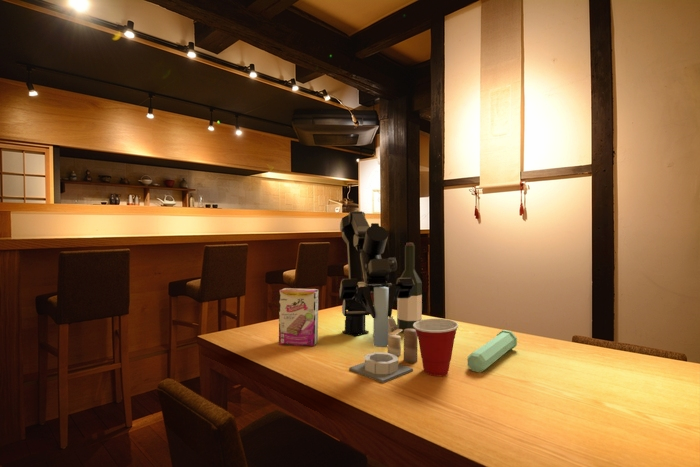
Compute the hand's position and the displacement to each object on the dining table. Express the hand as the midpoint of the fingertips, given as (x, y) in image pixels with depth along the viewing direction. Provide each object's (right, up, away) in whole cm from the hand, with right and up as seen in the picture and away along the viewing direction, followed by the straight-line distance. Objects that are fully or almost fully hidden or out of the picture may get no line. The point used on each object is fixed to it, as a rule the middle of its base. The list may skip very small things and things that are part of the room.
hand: (382, 317), depth 92 cm
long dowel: (0, -7, +1) cm, 7 cm away
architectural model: (+5, -14, +27) cm, 30 cm away
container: (+30, -14, +10) cm, 35 cm away
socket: (0, -13, +1) cm, 13 cm away
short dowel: (+4, -13, +13) cm, 19 cm away
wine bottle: (+13, -13, +39) cm, 43 cm away
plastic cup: (+13, -14, +1) cm, 19 cm away
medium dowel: (+8, -13, +9) cm, 18 cm away
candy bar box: (-23, -13, +23) cm, 35 cm away
